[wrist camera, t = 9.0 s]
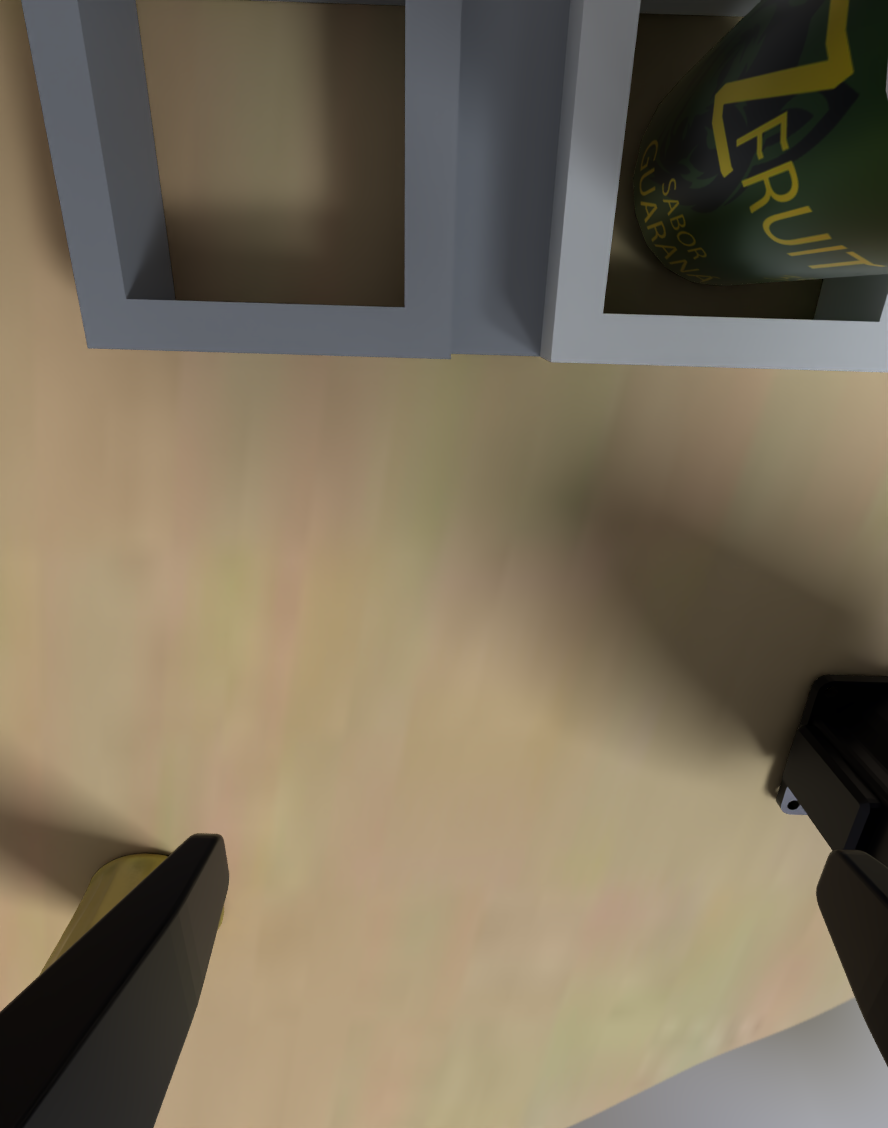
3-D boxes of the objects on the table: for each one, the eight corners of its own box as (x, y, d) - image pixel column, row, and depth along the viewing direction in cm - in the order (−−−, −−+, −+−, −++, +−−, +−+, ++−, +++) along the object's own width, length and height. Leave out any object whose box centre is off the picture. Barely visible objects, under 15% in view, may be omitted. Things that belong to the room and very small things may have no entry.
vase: (189, 960, 30) (-18, 1481, 16) (70, 908, 28) (-259, 1432, 15) (248, 889, 28) (68, 1415, 15) (124, 830, 26) (-200, 1353, 13)
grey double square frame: (951, -40, 15) (1067, -119, 12) (842, 363, 19) (911, 373, 16) (76, -69, 15) (-9, -155, 12) (142, 341, 18) (87, 348, 16)
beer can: (769, 3, 15) (1619, -802, 4) (857, 198, 17) (1632, -4, 6) (587, 159, 17) (864, -135, 5) (685, 326, 18) (1049, 359, 7)
